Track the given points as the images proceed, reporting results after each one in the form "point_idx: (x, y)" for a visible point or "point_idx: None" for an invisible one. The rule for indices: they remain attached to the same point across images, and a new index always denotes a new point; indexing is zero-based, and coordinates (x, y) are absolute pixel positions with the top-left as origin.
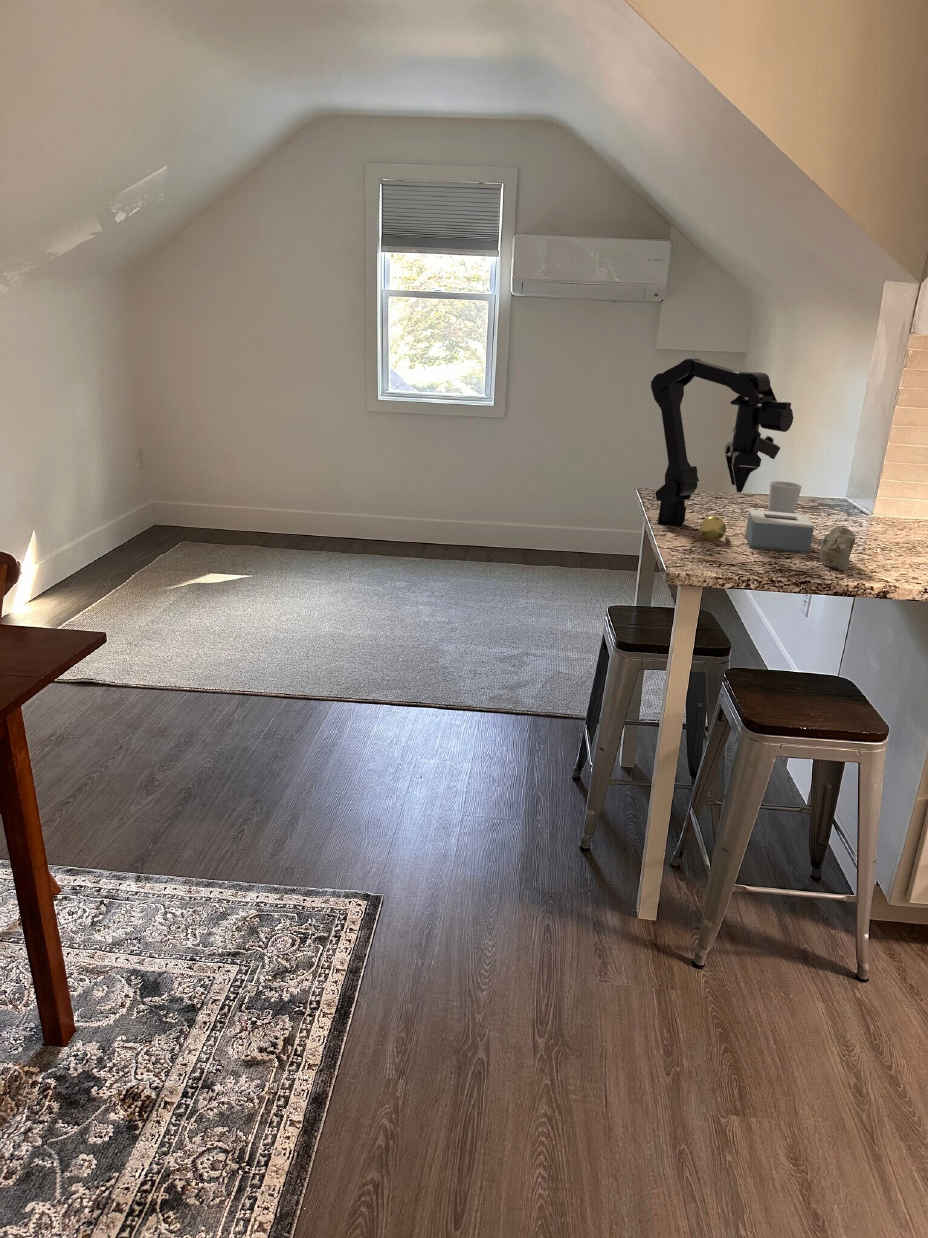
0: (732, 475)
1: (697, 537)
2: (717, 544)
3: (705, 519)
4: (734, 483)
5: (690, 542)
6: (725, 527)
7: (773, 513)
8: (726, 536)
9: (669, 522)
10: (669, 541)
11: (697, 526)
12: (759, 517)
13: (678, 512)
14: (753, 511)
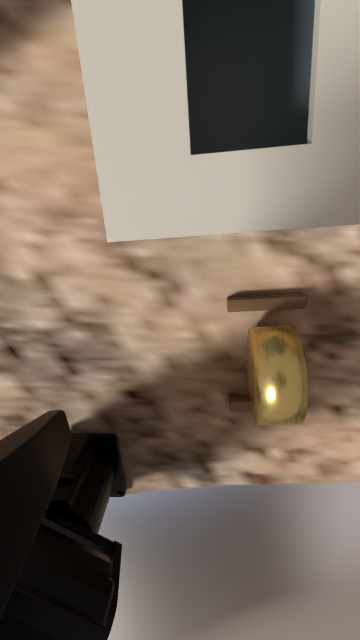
0: (33, 514)
1: None
2: (322, 334)
3: (277, 424)
4: (63, 430)
5: (324, 413)
6: (297, 337)
7: (146, 75)
8: (235, 308)
9: (115, 470)
10: (333, 466)
11: (85, 390)
12: (322, 185)
13: (94, 479)
14: (155, 218)
